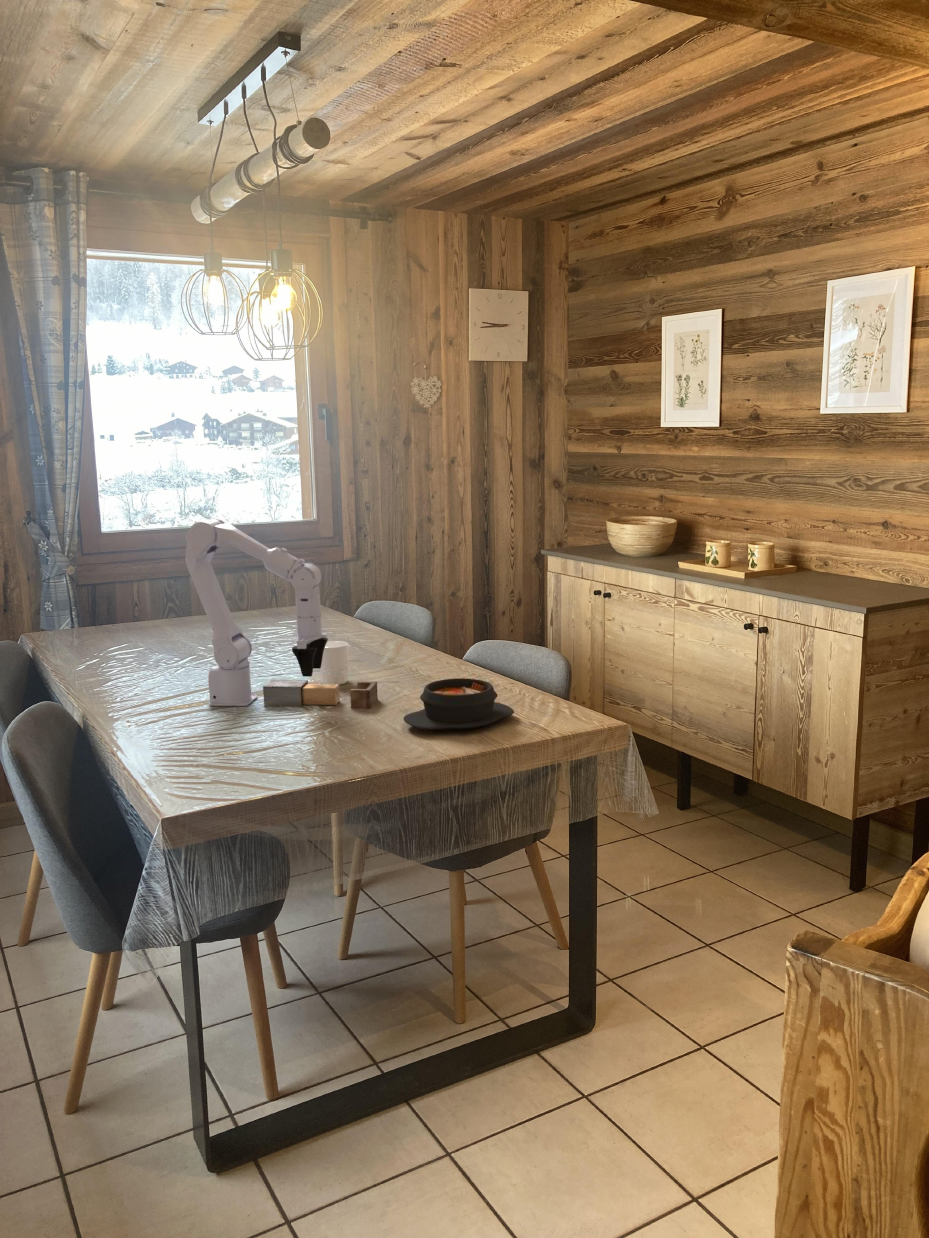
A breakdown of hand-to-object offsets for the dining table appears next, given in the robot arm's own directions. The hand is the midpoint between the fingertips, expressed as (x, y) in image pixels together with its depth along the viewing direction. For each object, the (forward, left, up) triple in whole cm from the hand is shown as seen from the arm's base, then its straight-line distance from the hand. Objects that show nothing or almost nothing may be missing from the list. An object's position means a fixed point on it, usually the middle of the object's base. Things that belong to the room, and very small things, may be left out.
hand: (311, 672), depth 232 cm
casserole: (+37, -14, -8) cm, 40 cm away
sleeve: (-7, 0, -8) cm, 10 cm away
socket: (+12, 0, -8) cm, 15 cm away
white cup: (0, +20, -8) cm, 21 cm away
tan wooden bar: (-2, 0, -8) cm, 8 cm away
